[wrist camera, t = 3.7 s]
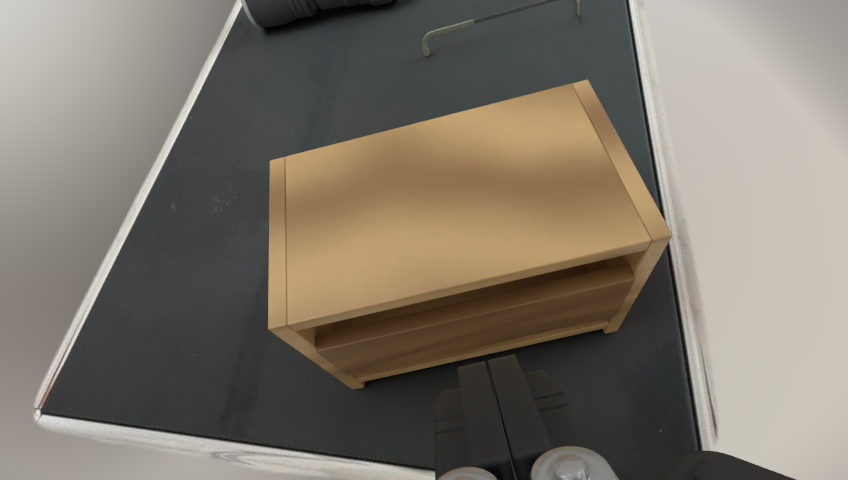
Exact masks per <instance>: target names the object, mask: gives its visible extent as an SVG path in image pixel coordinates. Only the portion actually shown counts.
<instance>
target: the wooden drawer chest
mask: <svg viewBox="0 0 848 480" xmlns="http://www.w3.org/2000/svg"><path fill="white" fill-rule="evenodd" d="M671 237H672V233H671V232H670V230H669V228H668V226H667V224H666V222H665V221H664V219H663V217H662V215H661V213H660V211H659V210H658V208H657V206H656V204H655V202H654V200H653V199H652V197H651V195H650V193H649V191H648V189H647V188H646V186H645V184H644V182H643V180H642V178H641V177H640V175H639V173H638V171H637V169H636V167H635V166H634V164H633V162H632V160H631V158H630V156H629V155H628V153H627V151H626V149H625V147H624V145H623V143H622V142H621V140H620V138H619V136H618V134H617V132H616V131H615V129H614V127H613V125H612V123H611V121H610V120H609V118H608V116H607V114H606V112H605V110H604V109H603V107H602V105H601V103H600V101H599V99H598V98H597V96H596V94H595V92H594V90H593V88H592V87H591V85H590V83H589V81H588V80H584V81H580V82H576V83H573V84H568V85H564V86H560V87H556V88H552V89H548V90H544V91H540V92H537V93H533V94H529V95H525V96H521V97H517V98H513V99H509V100H505V101H501V102H497V103H494V104H490V105H486V106H482V107H478V108H474V109H470V110H466V111H462V112H458V113H454V114H451V115H447V116H443V117H439V118H435V119H431V120H427V121H423V122H419V123H415V124H411V125H408V126H404V127H400V128H396V129H392V130H388V131H384V132H380V133H376V134H372V135H368V136H365V137H361V138H357V139H353V140H349V141H345V142H341V143H337V144H333V145H329V146H325V147H322V148H318V149H314V150H310V151H306V152H302V153H298V154H294V155H290V156H286V157H282V158H278V159H275V160H271V161H270V205H269V290H268V329H269V330H270V331H271V332H273V333H274V334H275V335H277V336H278V337H280V338H281V339H282V340H284V341H285V342H287V343H288V344H289V345H291V346H292V347H294V348H295V349H296V350H298V351H299V352H301V353H302V354H303V355H305V356H306V357H308V358H309V359H310V360H312V361H313V362H315V363H316V364H317V365H319V366H320V367H322V368H323V369H324V370H326V371H327V372H329V373H330V374H331V375H333V376H334V377H336V378H337V379H338V380H340V381H341V382H343V383H344V384H345V385H347V386H348V387H350V388H351V389H358V388H362V387H365V383H364V382H365V381H369V380H374V379H378V378H383V377H387V376H392V375H396V374H401V373H405V372H410V371H415V370H419V369H424V368H428V367H433V366H437V365H442V364H446V363H451V362H455V361H460V360H464V359H469V358H473V357H478V356H482V355H487V354H491V353H496V352H500V351H505V350H509V349H514V348H518V347H523V346H527V345H532V344H536V343H541V342H545V341H550V340H554V339H559V338H563V337H568V336H572V335H577V334H581V333H586V332H590V331H595V330H599V329H603V332H604V333H605V334H606V333H611V332H615V331H618V329H619V327H620V325H621V324H622V322H623V320H624V318H625V317H626V315H627V313H628V312H629V310H630V308H631V306H632V305H633V303H634V301H635V299H636V298H637V296H638V294H639V292H640V291H641V289H642V287H643V286H644V284H645V282H646V280H647V279H648V277H649V275H650V273H651V272H652V270H653V268H654V266H655V265H656V263H657V261H658V260H659V258H660V256H661V254H662V253H663V251H664V249H665V247H666V246H667V244H668V242H669V240H670V239H671Z"/></svg>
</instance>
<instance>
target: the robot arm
mask: <svg viewBox="0 0 848 480" xmlns="http://www.w3.org/2000/svg"><path fill="white" fill-rule="evenodd" d="M487 361H488V365H489V369H490V373H491V378H492V382H493V386H494V390H495V394H496V398H497V403H498V407H499V411H500V415H501V419H502V423H503V427H504V431H505V435H506V439H507V443H508V447H509V451H510V455H511V459H512V462H513V466H514V470H515V474H516V478H517V480H795V479H793V478H790V477H787V476H784V475H782V474H779V473H776V472H774V471H771V470H768V469H766V468H763V467H760V466H758V465H755V464H752V463H749V462H747V461H744V460H741V459H739V458H736V457H733V456H730V455H727V454H724V453H719V452H714V451H693V452H689V453H685V454H682V455H680V456H678V457H676V458H675V459H674V460H673V461H672V462H671V463H670V464H669V466H668V467H667V470H666V476H655V475H640V474H632V473H627V472H623V471H620V470H617V469H615V468H613V467H611V466H610V465H609V464H608V463H607V461H606V460H605V459H604V458H603V457H602V456H601V455H599V454H597V453H596V452H594V451H593V450H592V448H591V446H590V444H589V442H588V440H587V438H586V436H585V434H584V433H583V431H582V429H581V427H580V425H579V423H578V421H577V419H576V417H575V415H574V413H573V411H572V409H571V407H570V406H569V404H568V402H567V400H566V398H565V396H564V395H563V392H562V390H561V388H560V386H559V384H558V382H557V380H556V379H555V378H554V377H552V376H551V375H549V374H548V373H546V372H545V371H543V370H542V369H540V370H535V371H531V372H526V373H523V372H522V370H521V367H520V365H519V362H518V360H517V357H516V355H515V354H513V355H509V356H504V357H500V358H495V359H491V360H487ZM458 376H459V384H460V387H459V388H454V389H450V390H445V391H441V393H440V395H439V397H438V398H437V400H436V402H435V404H434V422H435V423H434V433H435V435H434V439H435V477H436V480H515V479H514V475H513V471H512V467H511V462H510V458H509V454H508V450H507V446H506V442H505V438H504V435H503V431H502V427H501V423H500V419H499V415H498V411H497V407H496V403H495V399H494V395H493V391H492V387H491V383H490V379H489V375H488V371H487V367H486V363H485V361H483V362H478V363H474V364H469V365H465V366H460V367H458Z"/></svg>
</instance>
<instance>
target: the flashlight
mask: <svg viewBox="0 0 848 480" xmlns="http://www.w3.org/2000/svg"><path fill="white" fill-rule="evenodd" d="M392 1H393V0H241V3H242V6H243V8H244V11H245V13H246V15H247V17H248V18H249V20H250V21H251V23H252V24H253V25H254V26H255V27H256V28H257V29H263V28H268V27H273V26H278V25H283V24H287V23H289V22H291V21H293V20H295V19H297V18H304V17H309V16H311V17H312V16H314V14H315V12H316V10H319V9H320V8H321V9H322V10H326V9H331V8H336V7H342V6H348V7H350V6H351V5H354V6H356V4H357V3H360V4H361V5H363V4H369V3H371V4H372V5H374V6H376V5H381V4H387V3H391V2H392Z"/></svg>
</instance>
